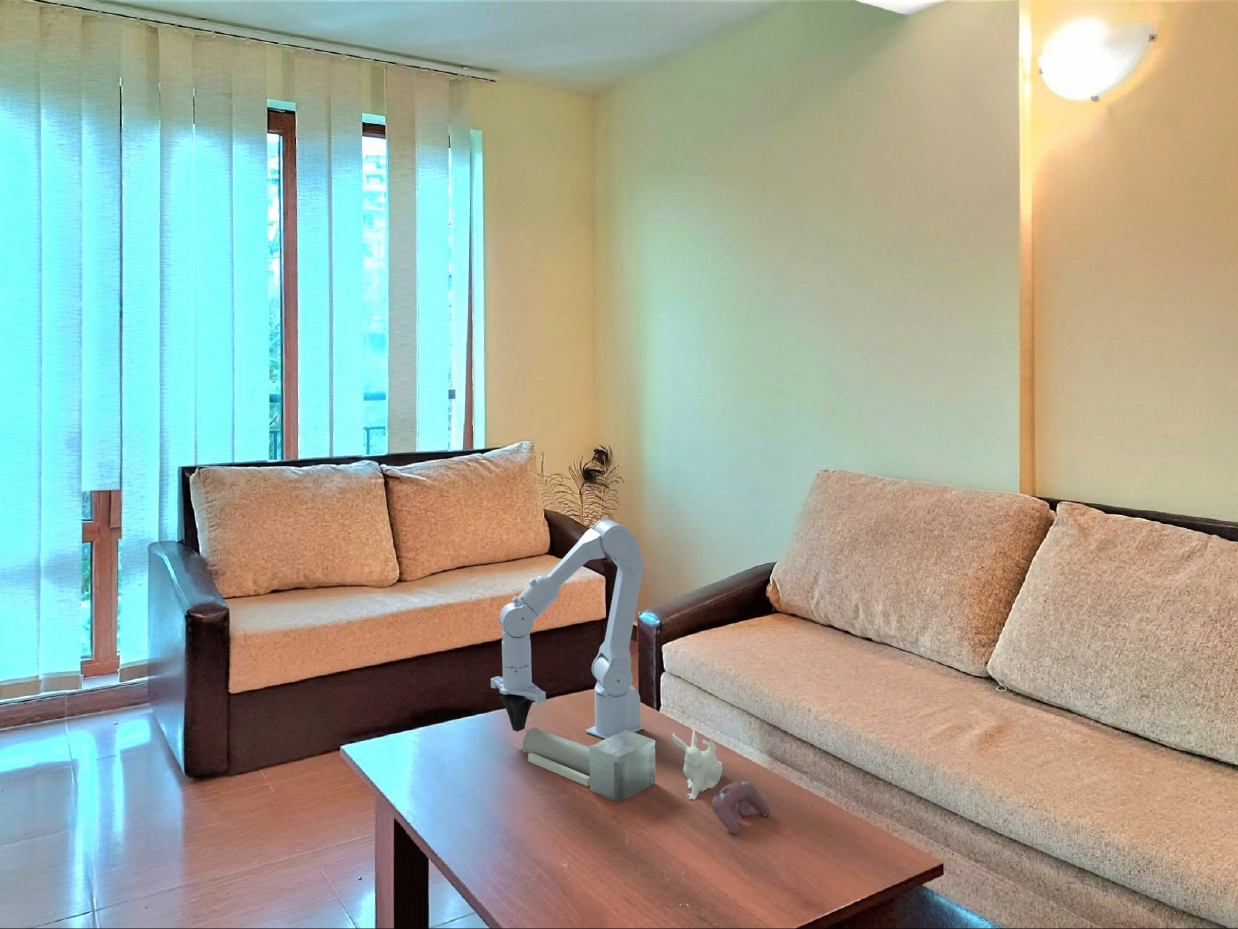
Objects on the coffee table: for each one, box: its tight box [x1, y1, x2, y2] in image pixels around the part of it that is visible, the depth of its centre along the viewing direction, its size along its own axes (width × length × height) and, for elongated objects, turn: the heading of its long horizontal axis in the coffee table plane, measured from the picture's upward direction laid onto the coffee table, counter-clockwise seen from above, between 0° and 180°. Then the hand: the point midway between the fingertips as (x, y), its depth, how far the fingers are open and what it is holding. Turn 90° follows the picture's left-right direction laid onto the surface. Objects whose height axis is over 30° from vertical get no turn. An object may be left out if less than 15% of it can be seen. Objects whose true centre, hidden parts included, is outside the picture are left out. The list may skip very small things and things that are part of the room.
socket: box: [588, 730, 656, 804], centre depth 161 cm, size 10×7×8 cm
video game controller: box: [711, 780, 771, 835], centre depth 149 cm, size 10×5×7 cm, turn 135°
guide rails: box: [527, 753, 590, 787], centre depth 170 cm, size 8×16×1 cm, turn 47°
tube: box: [522, 726, 590, 776], centre depth 169 cm, size 5×5×25 cm
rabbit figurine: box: [672, 728, 723, 801], centre depth 163 cm, size 12×8×10 cm, turn 138°
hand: (518, 729), depth 181 cm, fingers closed
